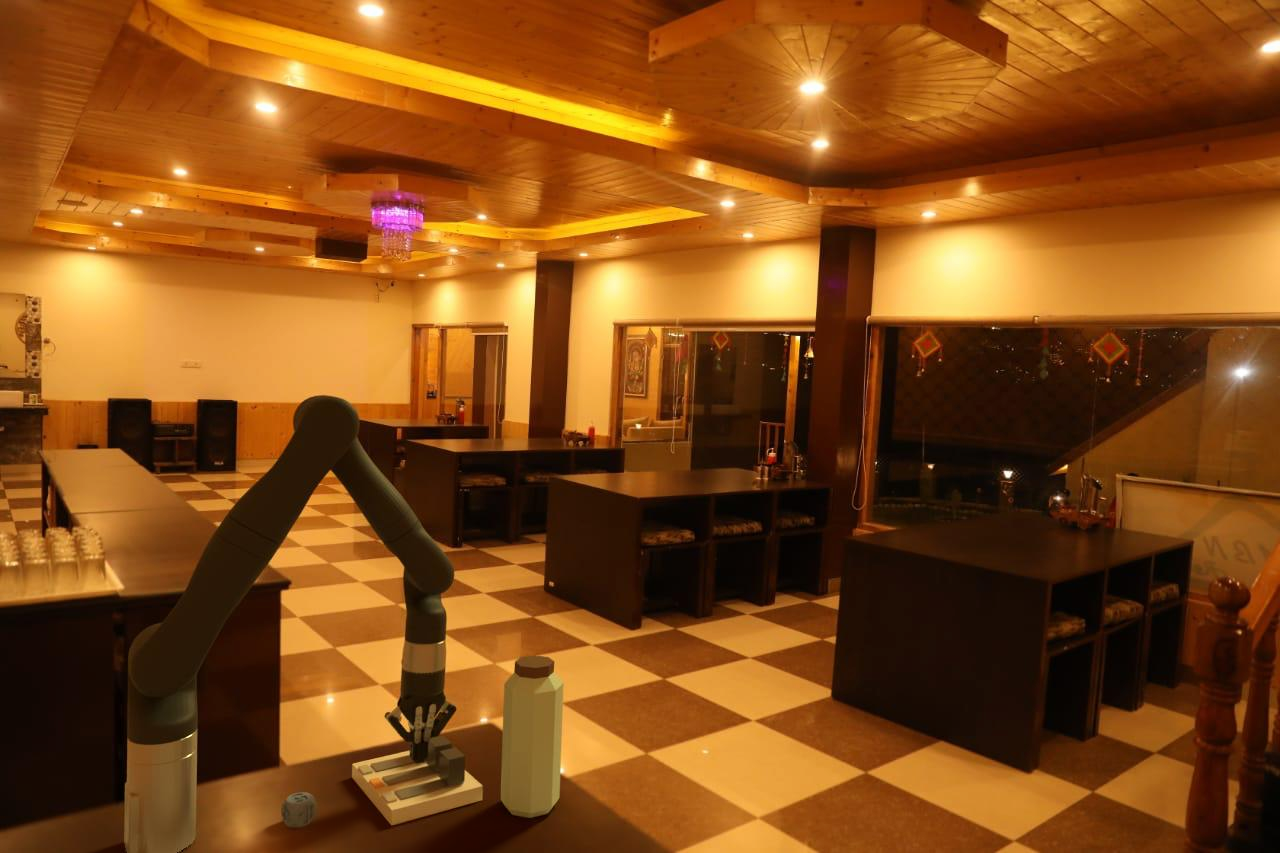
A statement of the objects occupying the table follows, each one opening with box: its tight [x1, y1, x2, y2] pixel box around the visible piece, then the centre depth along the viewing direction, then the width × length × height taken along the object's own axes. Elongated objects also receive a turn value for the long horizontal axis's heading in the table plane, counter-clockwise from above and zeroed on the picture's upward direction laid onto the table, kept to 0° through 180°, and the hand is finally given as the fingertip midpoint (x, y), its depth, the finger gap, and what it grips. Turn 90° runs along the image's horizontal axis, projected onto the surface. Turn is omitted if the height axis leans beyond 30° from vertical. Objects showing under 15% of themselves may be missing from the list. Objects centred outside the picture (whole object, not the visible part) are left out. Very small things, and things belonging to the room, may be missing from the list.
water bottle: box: [500, 654, 564, 819], centre depth 144 cm, size 10×10×25 cm
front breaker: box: [439, 747, 466, 786], centre depth 147 cm, size 3×4×4 cm
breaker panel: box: [351, 750, 484, 826], centre depth 149 cm, size 16×20×3 cm
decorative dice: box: [280, 791, 318, 829], centre depth 137 cm, size 4×4×4 cm
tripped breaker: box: [426, 735, 453, 772], centre depth 152 cm, size 3×4×4 cm
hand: (418, 761), depth 149 cm, fingers closed
